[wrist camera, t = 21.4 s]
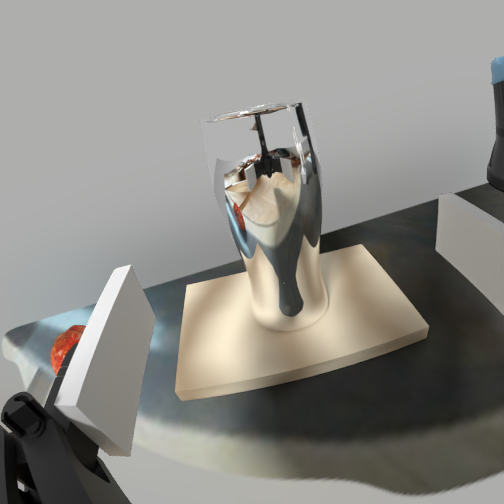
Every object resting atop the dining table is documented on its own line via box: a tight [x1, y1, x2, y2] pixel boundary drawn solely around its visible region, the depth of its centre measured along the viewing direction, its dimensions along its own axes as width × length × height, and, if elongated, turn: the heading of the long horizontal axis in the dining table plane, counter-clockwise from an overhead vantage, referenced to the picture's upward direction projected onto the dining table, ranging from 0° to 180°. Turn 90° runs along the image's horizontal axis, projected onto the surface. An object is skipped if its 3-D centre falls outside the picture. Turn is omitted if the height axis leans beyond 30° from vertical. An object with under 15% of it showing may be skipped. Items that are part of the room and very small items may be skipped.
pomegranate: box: [51, 325, 86, 376], centre depth 21 cm, size 6×6×8 cm
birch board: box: [175, 244, 429, 401], centre depth 24 cm, size 18×13×1 cm
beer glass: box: [200, 100, 328, 332], centre depth 20 cm, size 7×7×15 cm
